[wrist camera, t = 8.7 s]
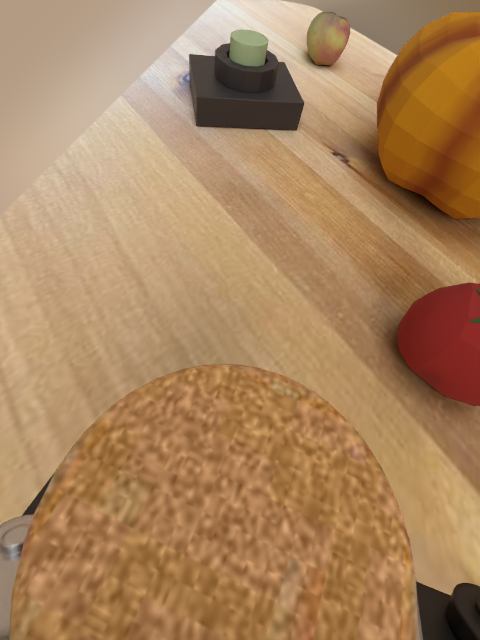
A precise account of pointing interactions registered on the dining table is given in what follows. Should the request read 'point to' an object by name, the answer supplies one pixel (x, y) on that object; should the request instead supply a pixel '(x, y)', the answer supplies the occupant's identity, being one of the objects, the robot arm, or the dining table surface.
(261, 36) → the green button cap
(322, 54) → the apple
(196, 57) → the button housing
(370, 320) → the dining table surface
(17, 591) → the bottle
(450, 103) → the decorative pumpkin
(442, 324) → the tomato
